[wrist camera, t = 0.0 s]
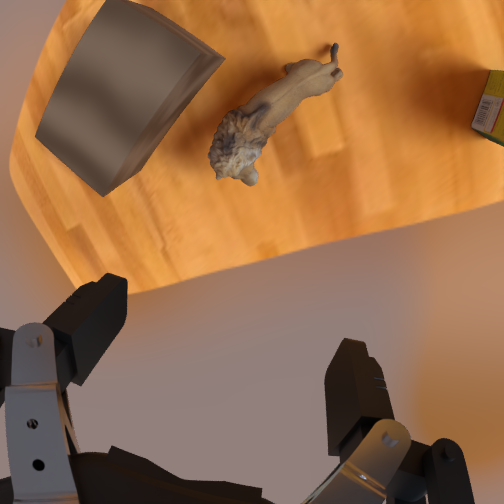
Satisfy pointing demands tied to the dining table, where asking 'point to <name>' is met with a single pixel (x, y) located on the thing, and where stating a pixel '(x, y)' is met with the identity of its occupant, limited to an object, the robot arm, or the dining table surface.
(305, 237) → the dining table surface
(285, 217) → the dining table surface
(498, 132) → the crayon box
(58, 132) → the brown wooden block
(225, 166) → the lion figurine
